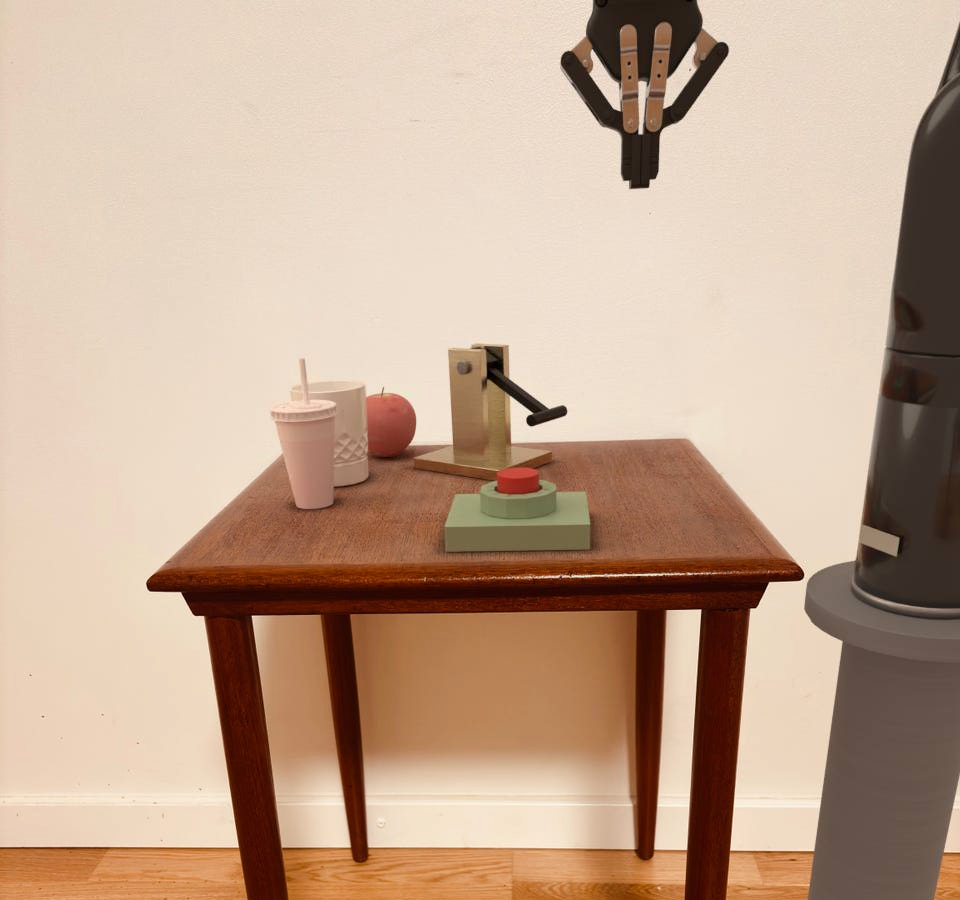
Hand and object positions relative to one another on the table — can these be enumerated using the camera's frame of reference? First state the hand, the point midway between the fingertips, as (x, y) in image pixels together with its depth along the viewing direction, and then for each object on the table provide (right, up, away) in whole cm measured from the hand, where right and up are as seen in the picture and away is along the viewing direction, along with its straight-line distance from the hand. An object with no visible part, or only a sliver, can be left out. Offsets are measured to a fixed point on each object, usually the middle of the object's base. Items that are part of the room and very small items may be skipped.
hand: (639, 188), depth 73 cm
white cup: (-28, -18, +28) cm, 44 cm away
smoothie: (-29, -22, +19) cm, 41 cm away
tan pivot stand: (-12, -16, +31) cm, 37 cm away
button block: (-9, -26, +8) cm, 29 cm away
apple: (-24, -14, +37) cm, 46 cm away
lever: (-10, -10, +26) cm, 29 cm away
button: (-9, -23, +7) cm, 26 cm away
